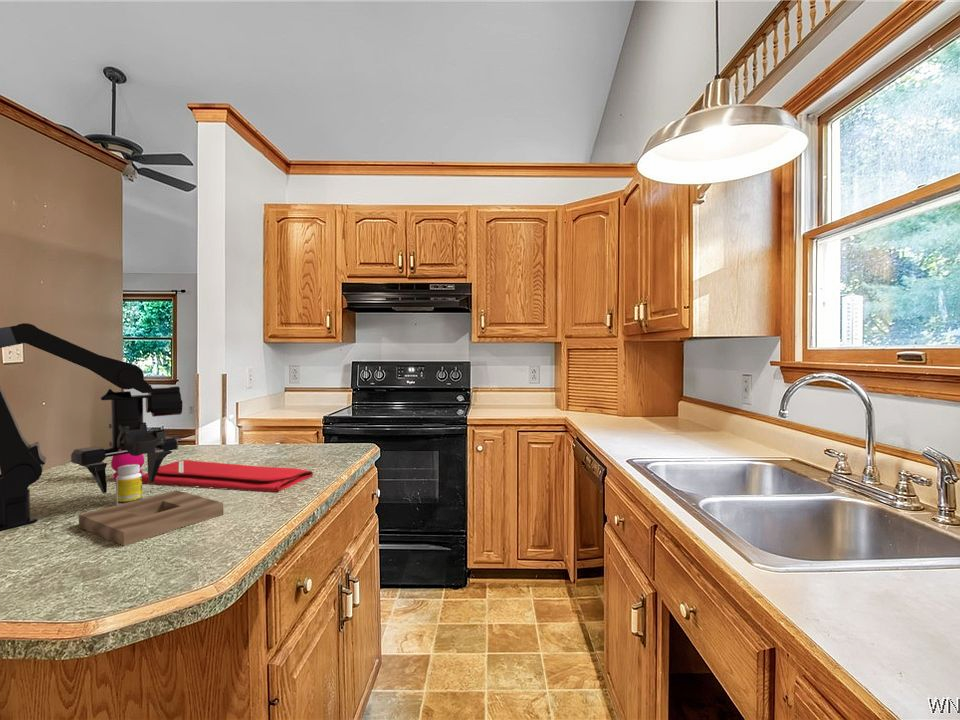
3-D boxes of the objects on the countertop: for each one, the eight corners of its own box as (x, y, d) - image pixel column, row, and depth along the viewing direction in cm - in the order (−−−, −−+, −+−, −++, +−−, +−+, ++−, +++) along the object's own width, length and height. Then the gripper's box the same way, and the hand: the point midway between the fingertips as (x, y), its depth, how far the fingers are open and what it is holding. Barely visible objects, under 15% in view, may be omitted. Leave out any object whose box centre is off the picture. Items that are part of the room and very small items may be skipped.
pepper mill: (140, 473, 130) (139, 402, 130) (148, 477, 126) (147, 404, 125) (108, 479, 125) (106, 405, 124) (115, 483, 120) (113, 407, 120)
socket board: (79, 527, 90) (78, 514, 90) (176, 501, 106) (176, 490, 106) (123, 546, 81) (123, 532, 81) (223, 514, 97) (223, 502, 97)
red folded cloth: (277, 494, 112) (277, 479, 112) (137, 485, 120) (137, 471, 120) (313, 477, 127) (313, 464, 127) (187, 470, 136) (187, 457, 136)
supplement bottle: (146, 502, 105) (145, 465, 105) (121, 508, 101) (120, 470, 101) (136, 498, 108) (136, 462, 108) (112, 504, 104) (111, 467, 104)
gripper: (93, 427, 92) (94, 505, 92) (190, 416, 108) (191, 482, 109) (69, 423, 98) (70, 496, 98) (165, 413, 114) (166, 475, 114)
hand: (128, 487), depth 105 cm, fingers open, 9 cm apart
